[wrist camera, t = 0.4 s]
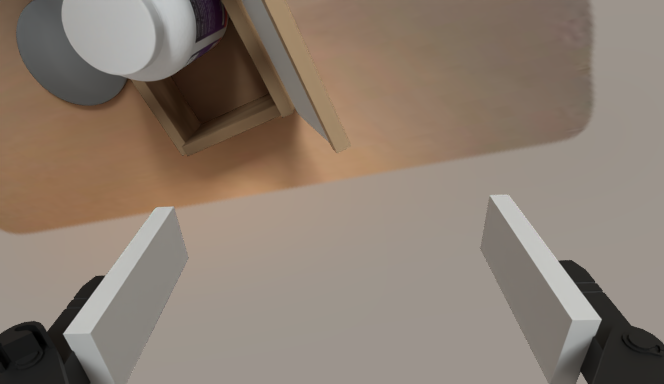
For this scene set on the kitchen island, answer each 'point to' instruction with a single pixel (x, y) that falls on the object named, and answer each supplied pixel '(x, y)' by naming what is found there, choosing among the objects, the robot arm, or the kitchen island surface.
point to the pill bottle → (143, 34)
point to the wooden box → (197, 137)
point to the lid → (296, 68)
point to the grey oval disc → (60, 57)
